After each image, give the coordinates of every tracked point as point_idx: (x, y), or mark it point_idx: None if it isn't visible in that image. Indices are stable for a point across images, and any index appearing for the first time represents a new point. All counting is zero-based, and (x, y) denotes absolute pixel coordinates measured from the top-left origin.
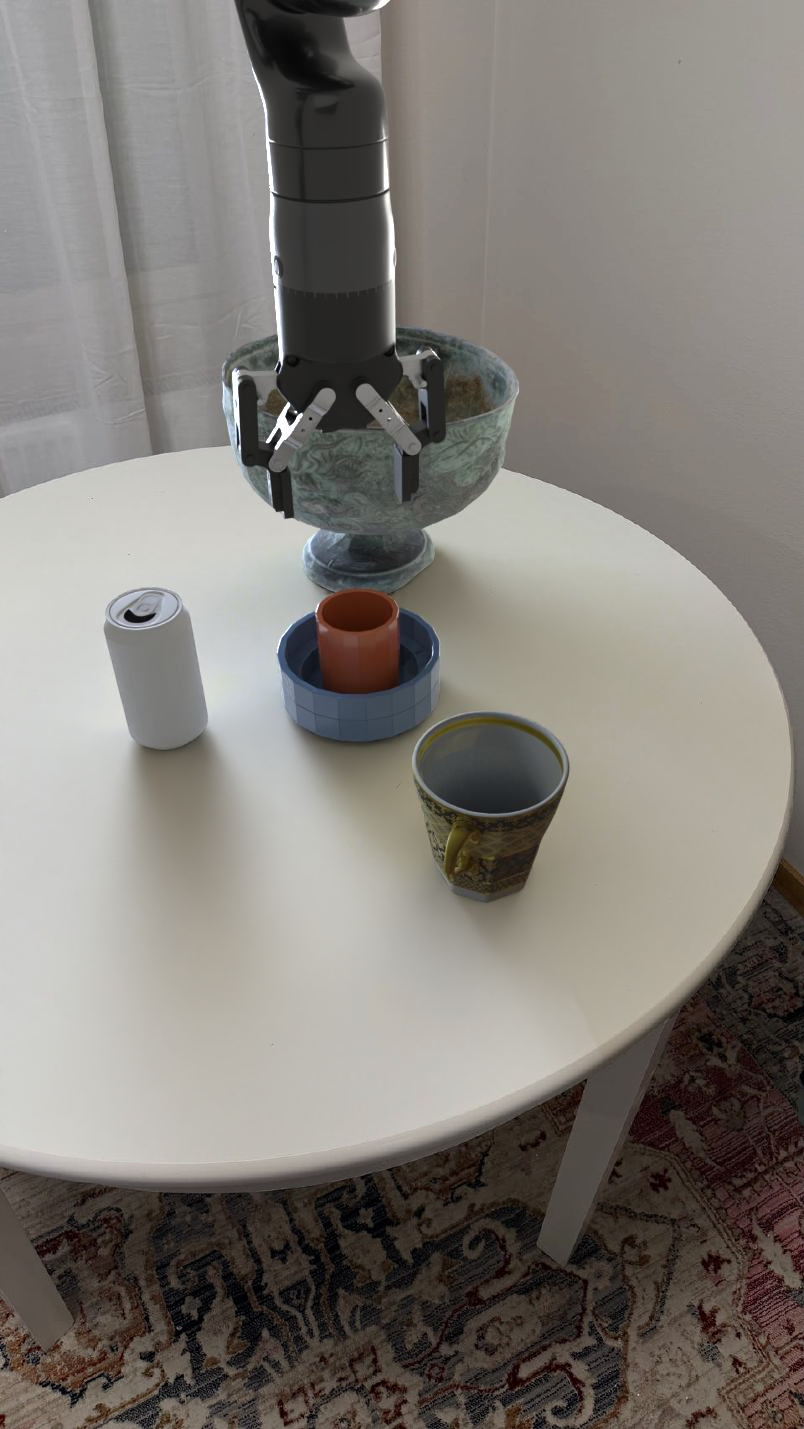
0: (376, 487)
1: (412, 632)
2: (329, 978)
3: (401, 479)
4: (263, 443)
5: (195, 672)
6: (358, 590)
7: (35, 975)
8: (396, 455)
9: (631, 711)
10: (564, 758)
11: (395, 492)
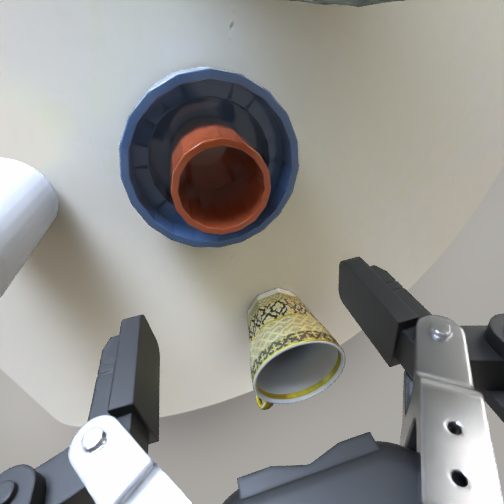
0: (310, 2)
1: (273, 114)
2: (189, 364)
3: (362, 327)
4: (74, 502)
5: (35, 238)
6: (226, 144)
7: (30, 380)
8: (385, 327)
9: (406, 189)
10: (341, 368)
11: (340, 264)
